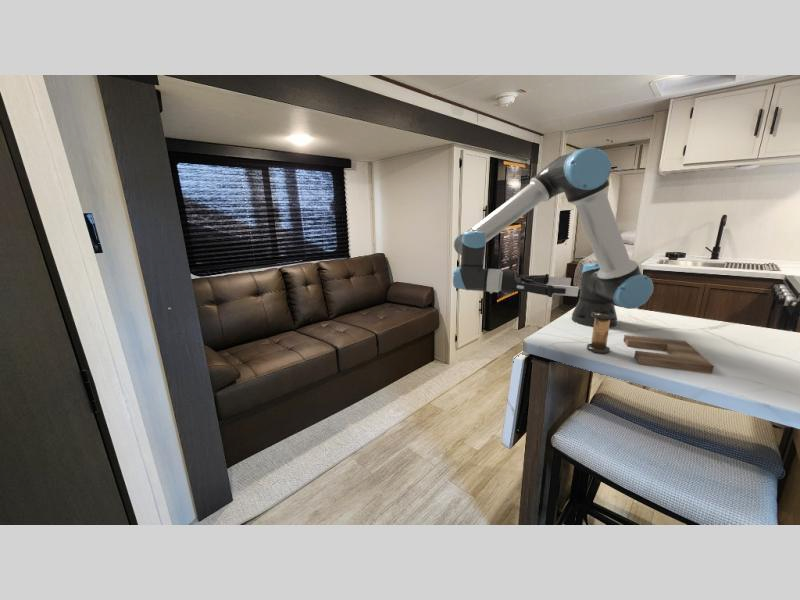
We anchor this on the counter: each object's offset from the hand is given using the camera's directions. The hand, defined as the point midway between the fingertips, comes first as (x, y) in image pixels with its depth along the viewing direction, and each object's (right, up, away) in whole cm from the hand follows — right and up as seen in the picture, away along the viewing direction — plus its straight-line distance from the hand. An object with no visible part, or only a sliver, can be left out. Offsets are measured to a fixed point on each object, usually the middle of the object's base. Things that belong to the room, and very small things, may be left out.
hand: (574, 286), depth 97 cm
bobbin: (+9, -20, +2) cm, 22 cm away
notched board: (+25, -20, -2) cm, 32 cm away
